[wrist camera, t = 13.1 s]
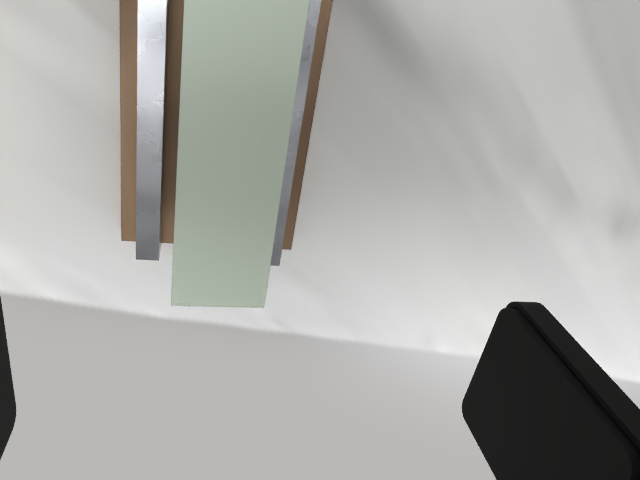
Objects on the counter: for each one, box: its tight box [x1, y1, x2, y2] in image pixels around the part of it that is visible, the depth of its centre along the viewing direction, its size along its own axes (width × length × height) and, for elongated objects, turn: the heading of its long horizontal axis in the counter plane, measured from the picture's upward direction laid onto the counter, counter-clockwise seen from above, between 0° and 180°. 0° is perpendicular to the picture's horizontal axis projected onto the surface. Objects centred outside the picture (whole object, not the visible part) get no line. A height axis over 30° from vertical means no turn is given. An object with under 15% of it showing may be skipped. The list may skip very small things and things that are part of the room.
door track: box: [120, 0, 333, 266], centre depth 26 cm, size 10×18×3 cm, turn 170°
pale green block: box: [171, 0, 309, 308], centre depth 23 cm, size 4×14×9 cm, turn 170°
